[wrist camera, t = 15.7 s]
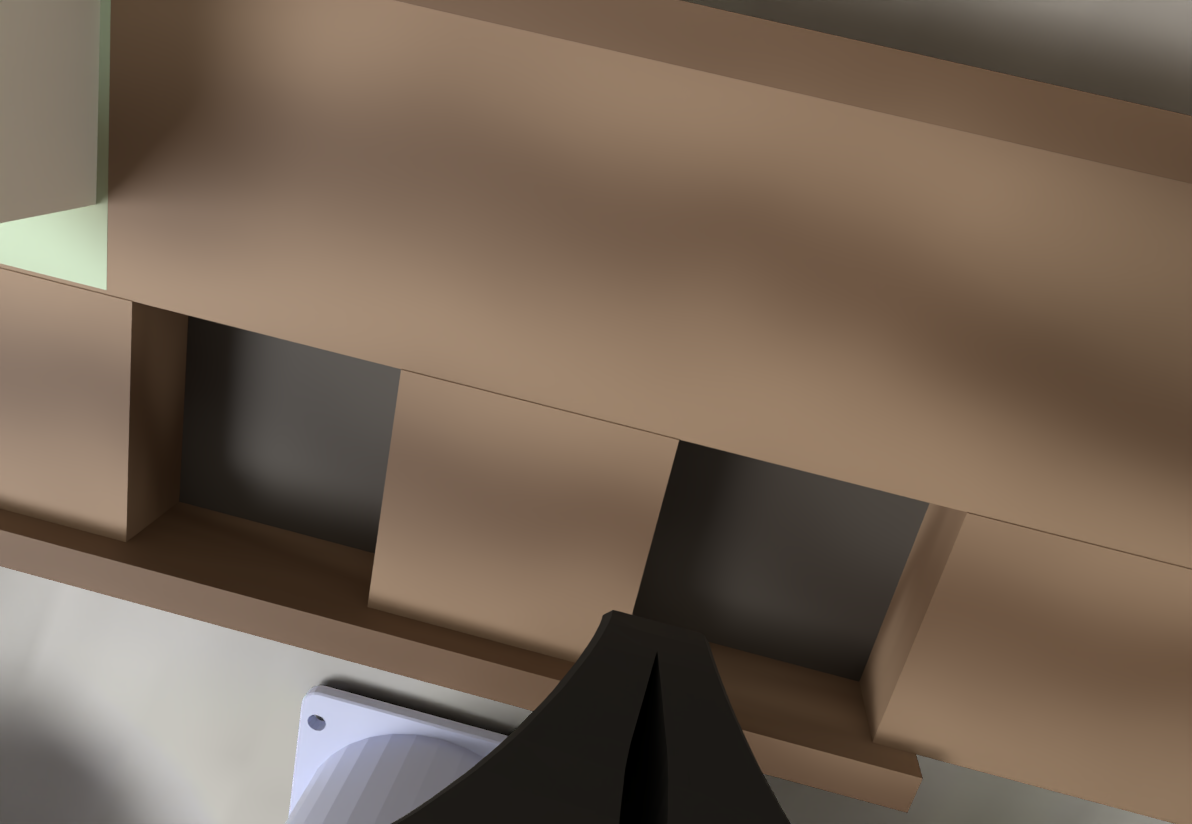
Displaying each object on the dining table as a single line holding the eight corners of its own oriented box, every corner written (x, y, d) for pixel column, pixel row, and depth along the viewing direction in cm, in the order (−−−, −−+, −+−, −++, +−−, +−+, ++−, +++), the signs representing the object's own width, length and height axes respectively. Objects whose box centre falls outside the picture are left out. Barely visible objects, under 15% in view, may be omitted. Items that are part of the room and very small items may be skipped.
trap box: (1179, 797, 23) (1246, 905, 20) (-63, 466, 24) (-172, 519, 22) (1528, 203, 17) (1693, 229, 14) (-102, -166, 19) (-255, -211, 16)
